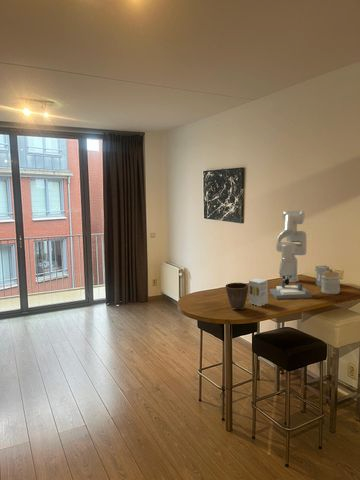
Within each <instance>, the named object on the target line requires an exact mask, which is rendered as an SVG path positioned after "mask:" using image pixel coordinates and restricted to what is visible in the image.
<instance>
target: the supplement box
mask: <svg viewBox="0 0 360 480" xmlns="http://www.w3.org/2000/svg"><path fill="white" fill-rule="evenodd" d="M268 282H269V281H268V279H262V278H258V277H257V278H253V279H250V280H249V281H248V304H249V303H251V304H250V305H252V304H254V305H253V306H255V305H257V306H256V307H259V306H260V307H262V305H263V306H265V304H266V305H268V303H269V302H268V300H269V297H268V295H269V293H268V287H269V286H268Z"/></svg>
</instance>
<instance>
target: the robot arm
mask: <svg viewBox="0 0 360 480" xmlns="http://www.w3.org/2000/svg"><path fill="white" fill-rule="evenodd" d="M305 217H306V212H305V211H304V210H300V209H299V210H298V209H297V210H284V211H283V212H282V218H283V230H282V231H281V232H280V233H279V235H278V236H277V238H276V244H275V245H276V247H275V248H276V249H275V250H276V251H277V252H279V253H281V261H280V263H279V278H283V280H284V281H285V286H290V285H289V284H290V283H296V282H297V283H298V282H299V281H300V279H299V278H298V259H297V257H296V256H305V255H306V254H307V233H306V231H303V230H298V225H303V224H304V223H305ZM285 238H286V241H284V242H283V239H285Z"/></svg>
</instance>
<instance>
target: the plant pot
mask: <svg viewBox="0 0 360 480" xmlns="http://www.w3.org/2000/svg"><path fill="white" fill-rule="evenodd" d="M225 291H226V294H227V298H228V302H229V304H230V308H231V309H232V308H235V309H242V308H243V309H244V308H245V305H246V302H247V297H248V294H249V284H248V283H243V282H231V283H227V284H226V285H225ZM243 309H242V310H243Z"/></svg>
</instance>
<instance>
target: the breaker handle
mask: <svg viewBox="0 0 360 480" xmlns="http://www.w3.org/2000/svg"><path fill="white" fill-rule="evenodd" d="M297 286H298V290H300V291H302V287H303V283H302V282H299V281H298V282H297Z"/></svg>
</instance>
